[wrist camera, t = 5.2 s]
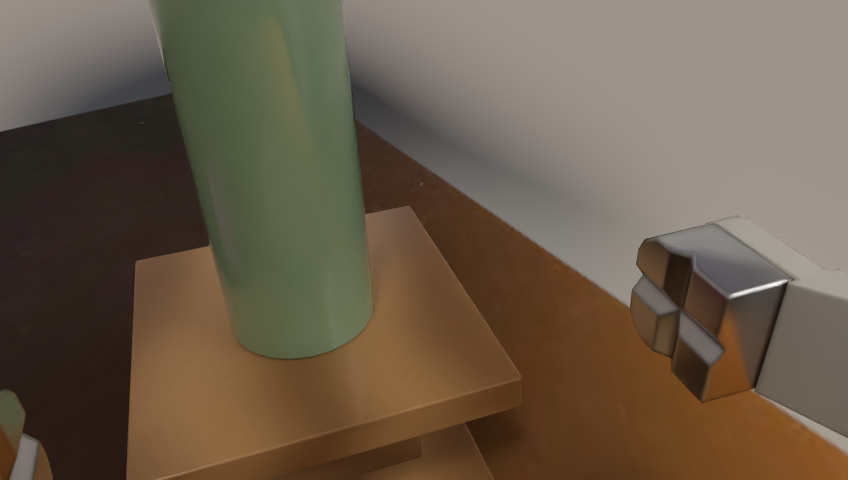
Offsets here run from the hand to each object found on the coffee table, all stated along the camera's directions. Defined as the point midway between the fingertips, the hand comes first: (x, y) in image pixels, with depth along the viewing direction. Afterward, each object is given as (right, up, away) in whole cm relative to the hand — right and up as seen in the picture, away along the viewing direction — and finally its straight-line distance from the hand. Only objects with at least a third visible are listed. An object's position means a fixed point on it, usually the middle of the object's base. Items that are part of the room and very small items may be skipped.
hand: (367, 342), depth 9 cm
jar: (-3, -1, +14) cm, 14 cm away
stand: (-3, -6, +17) cm, 18 cm away
